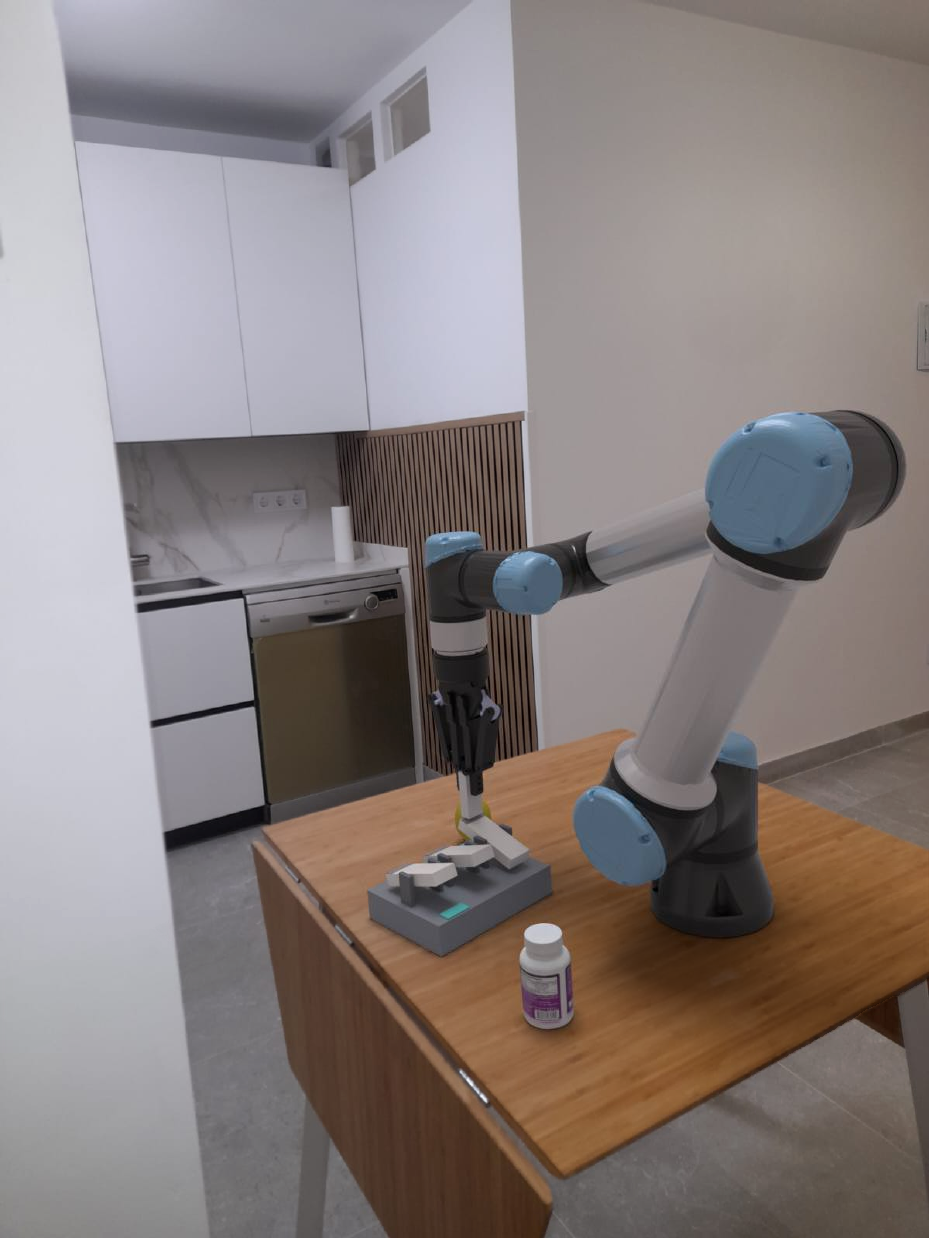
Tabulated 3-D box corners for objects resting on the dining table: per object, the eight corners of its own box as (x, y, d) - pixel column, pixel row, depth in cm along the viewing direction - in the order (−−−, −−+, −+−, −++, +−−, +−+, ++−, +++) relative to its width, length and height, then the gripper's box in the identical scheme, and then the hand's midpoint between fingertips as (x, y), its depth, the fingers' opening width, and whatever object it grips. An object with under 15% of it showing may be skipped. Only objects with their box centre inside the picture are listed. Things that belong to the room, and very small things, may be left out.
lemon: (489, 852, 135) (486, 801, 133) (453, 851, 136) (449, 801, 135) (496, 836, 140) (492, 787, 139) (461, 835, 141) (457, 787, 140)
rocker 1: (458, 874, 112) (455, 861, 112) (434, 887, 109) (430, 873, 109) (411, 874, 120) (407, 862, 120) (387, 886, 117) (384, 873, 117)
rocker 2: (495, 855, 116) (492, 843, 116) (473, 867, 114) (469, 854, 114) (447, 857, 124) (444, 845, 124) (425, 868, 121) (422, 855, 121)
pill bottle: (546, 993, 100) (541, 913, 98) (584, 1013, 96) (579, 930, 94) (512, 1016, 96) (506, 934, 94) (550, 1038, 92) (545, 952, 91)
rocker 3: (528, 858, 122) (530, 848, 121) (508, 869, 119) (510, 859, 118) (477, 819, 128) (479, 809, 127) (457, 829, 125) (458, 819, 125)
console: (552, 892, 122) (548, 837, 120) (441, 956, 108) (436, 895, 107) (479, 862, 132) (475, 811, 130) (369, 918, 119) (364, 861, 117)
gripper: (515, 648, 119) (525, 817, 123) (448, 637, 128) (459, 794, 133) (473, 661, 114) (486, 836, 118) (407, 648, 123) (420, 811, 128)
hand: (472, 814), depth 125 cm, fingers closed
